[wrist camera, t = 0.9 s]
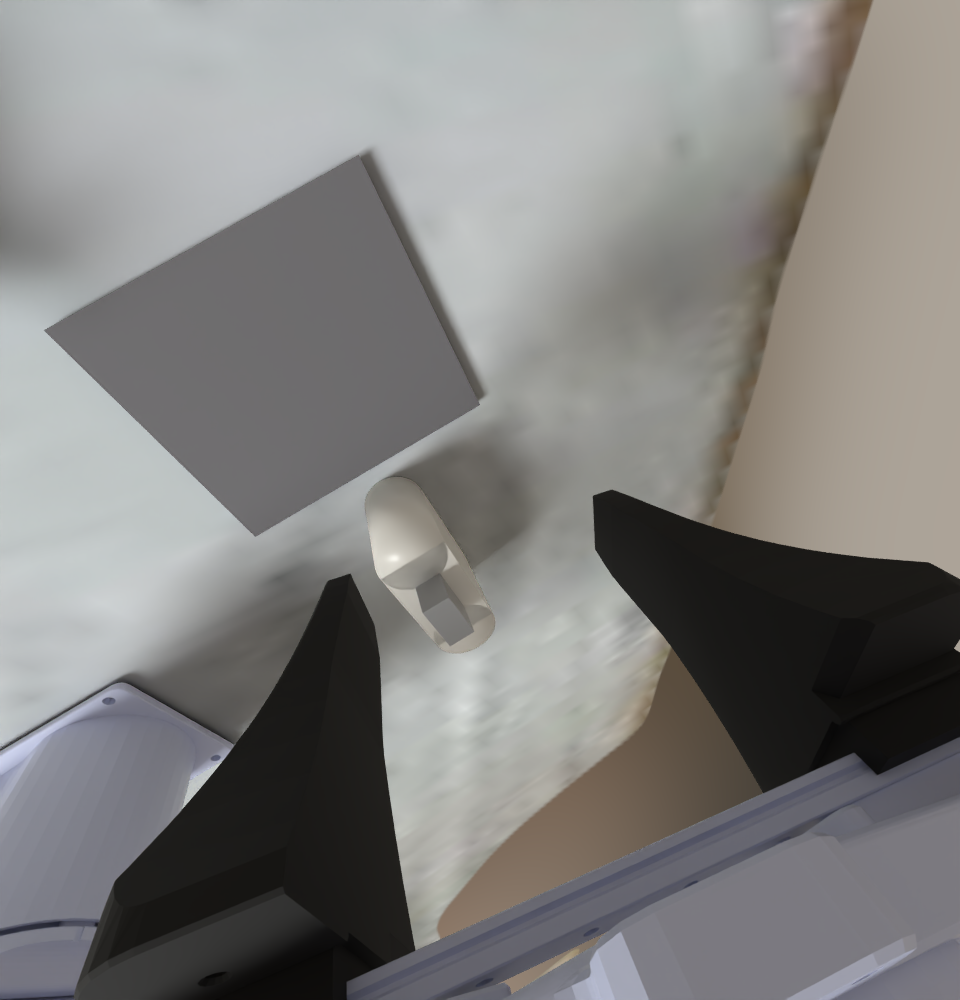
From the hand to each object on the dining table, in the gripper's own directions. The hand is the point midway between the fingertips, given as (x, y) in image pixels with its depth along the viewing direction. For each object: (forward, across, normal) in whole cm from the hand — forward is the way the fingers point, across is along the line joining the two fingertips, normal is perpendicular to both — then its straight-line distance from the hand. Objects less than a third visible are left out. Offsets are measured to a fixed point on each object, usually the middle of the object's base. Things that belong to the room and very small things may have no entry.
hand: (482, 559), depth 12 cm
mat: (+10, +4, -4) cm, 12 cm away
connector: (+10, +2, +5) cm, 11 cm away
